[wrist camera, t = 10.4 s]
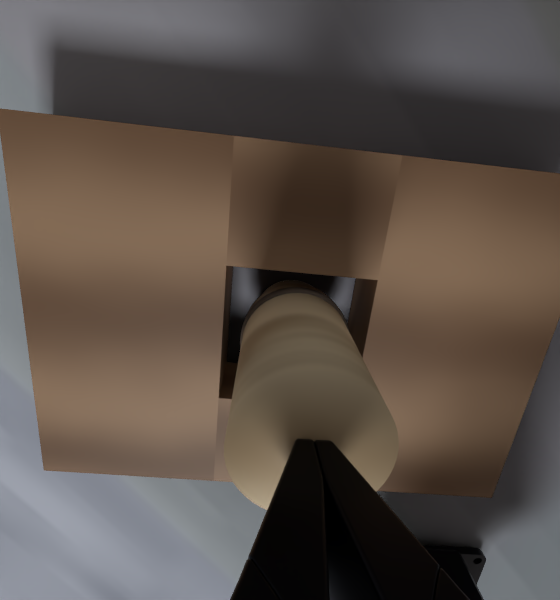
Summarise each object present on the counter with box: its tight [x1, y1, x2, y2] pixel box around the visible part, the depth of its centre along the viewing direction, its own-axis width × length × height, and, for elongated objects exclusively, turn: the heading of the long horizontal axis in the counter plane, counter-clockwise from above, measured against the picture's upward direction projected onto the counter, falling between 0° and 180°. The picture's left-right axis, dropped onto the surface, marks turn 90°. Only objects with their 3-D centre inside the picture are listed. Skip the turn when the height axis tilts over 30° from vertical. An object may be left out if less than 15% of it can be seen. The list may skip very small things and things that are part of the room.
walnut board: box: [0, 109, 560, 498], centre depth 15 cm, size 14×20×3 cm
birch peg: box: [224, 280, 399, 510], centre depth 13 cm, size 4×4×9 cm
